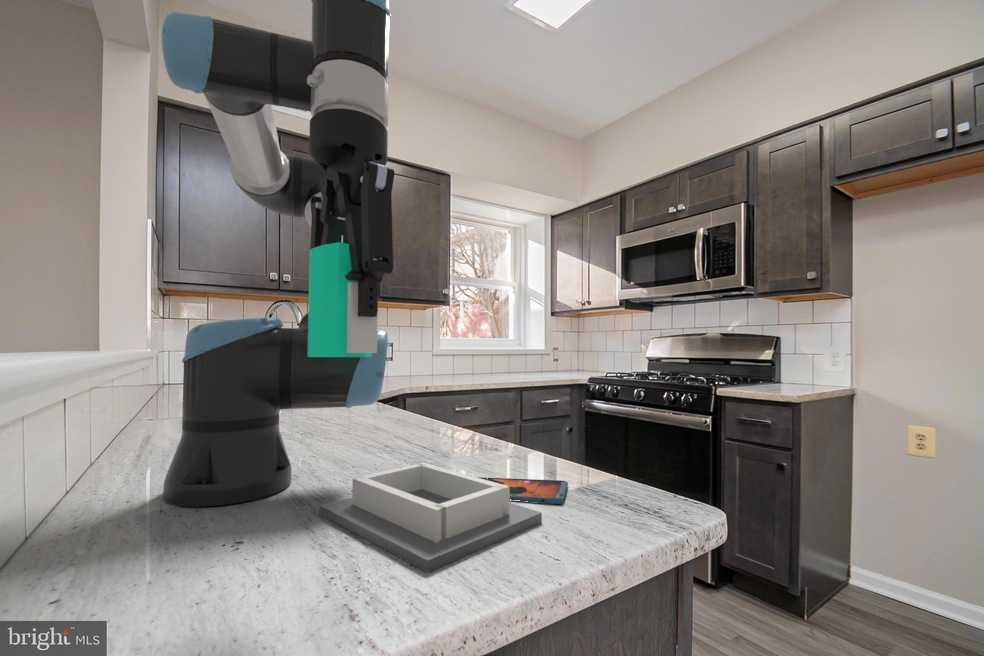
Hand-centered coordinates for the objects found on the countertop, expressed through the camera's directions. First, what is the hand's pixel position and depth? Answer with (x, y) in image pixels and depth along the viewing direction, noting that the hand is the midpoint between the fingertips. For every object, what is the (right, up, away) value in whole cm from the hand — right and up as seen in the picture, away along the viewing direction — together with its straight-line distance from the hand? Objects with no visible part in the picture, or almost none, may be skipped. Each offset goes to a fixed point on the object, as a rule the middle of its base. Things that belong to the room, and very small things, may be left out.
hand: (345, 352), depth 45 cm
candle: (0, -1, 0) cm, 1 cm away
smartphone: (+17, -20, +17) cm, 31 cm away
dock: (+7, -19, +7) cm, 22 cm away
